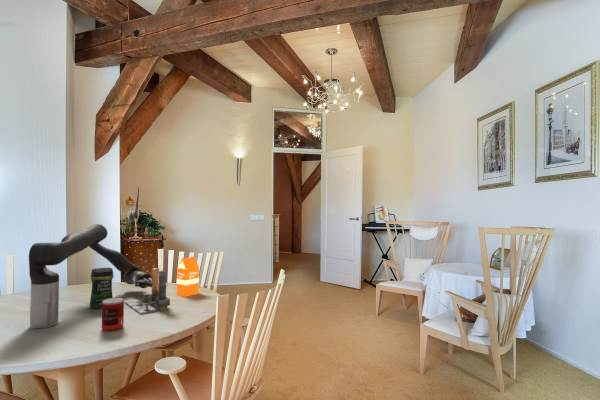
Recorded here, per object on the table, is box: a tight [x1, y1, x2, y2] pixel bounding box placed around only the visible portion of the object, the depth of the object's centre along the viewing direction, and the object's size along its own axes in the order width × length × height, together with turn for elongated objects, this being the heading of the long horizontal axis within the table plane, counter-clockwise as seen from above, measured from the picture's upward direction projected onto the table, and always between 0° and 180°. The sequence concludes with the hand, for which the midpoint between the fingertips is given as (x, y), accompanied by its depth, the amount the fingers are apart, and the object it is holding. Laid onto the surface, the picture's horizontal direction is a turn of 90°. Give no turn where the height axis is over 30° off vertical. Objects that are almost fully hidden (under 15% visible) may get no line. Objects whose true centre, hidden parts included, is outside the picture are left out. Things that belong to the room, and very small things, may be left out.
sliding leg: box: [138, 267, 160, 305], centre depth 168 cm, size 5×10×16 cm, turn 132°
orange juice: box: [176, 256, 200, 297], centre depth 191 cm, size 8×9×20 cm
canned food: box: [101, 297, 125, 332], centre depth 136 cm, size 8×8×11 cm
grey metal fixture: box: [124, 270, 171, 315], centre depth 167 cm, size 25×13×18 cm, turn 42°
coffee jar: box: [89, 267, 114, 310], centre depth 165 cm, size 10×8×19 cm
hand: (153, 285), depth 171 cm, fingers closed
